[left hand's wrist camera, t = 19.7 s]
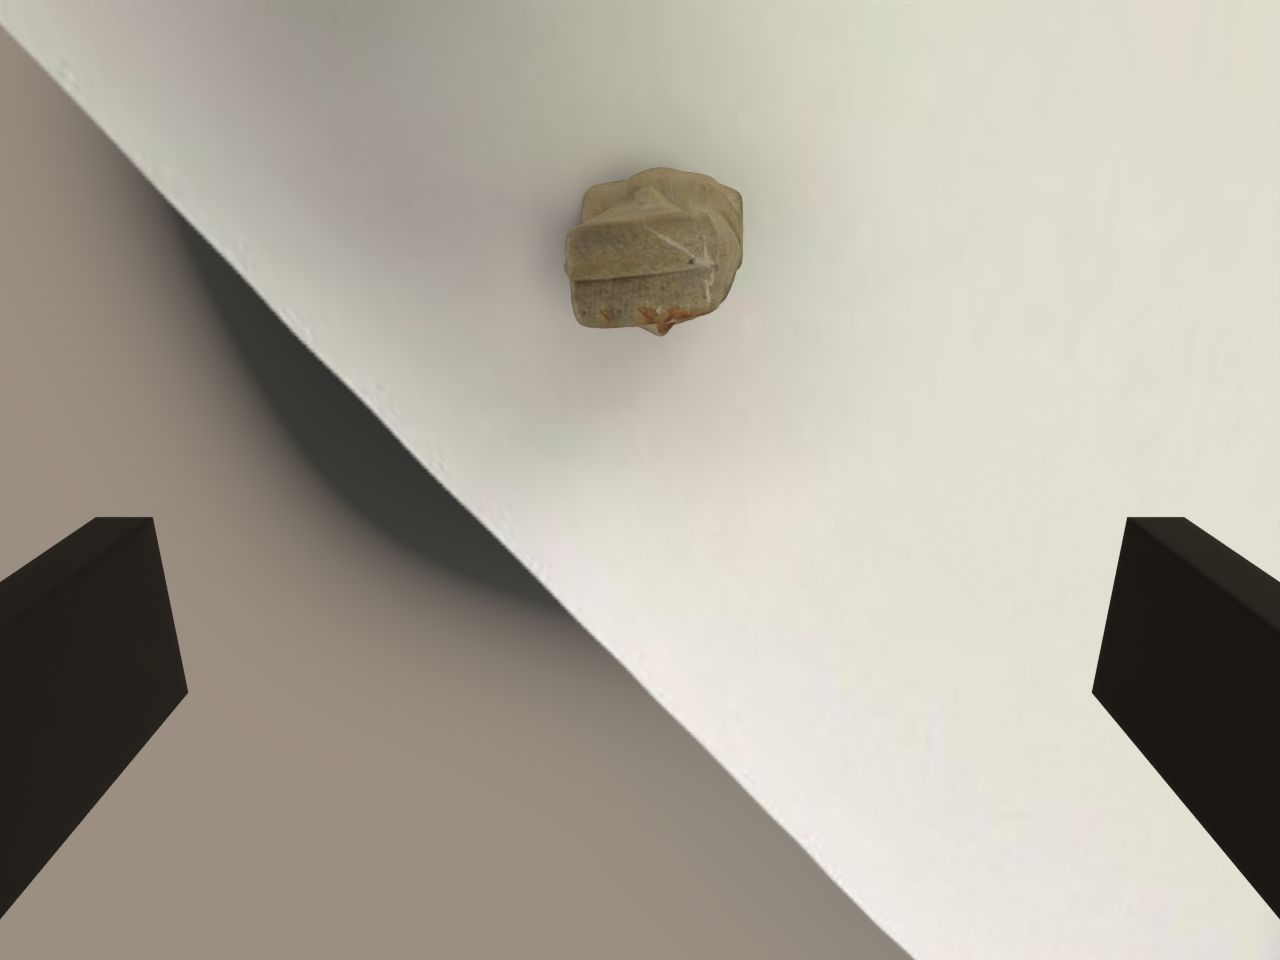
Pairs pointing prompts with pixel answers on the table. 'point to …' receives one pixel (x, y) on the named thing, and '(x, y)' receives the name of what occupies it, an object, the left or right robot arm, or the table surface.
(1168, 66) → the table surface
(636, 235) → the sculpture
